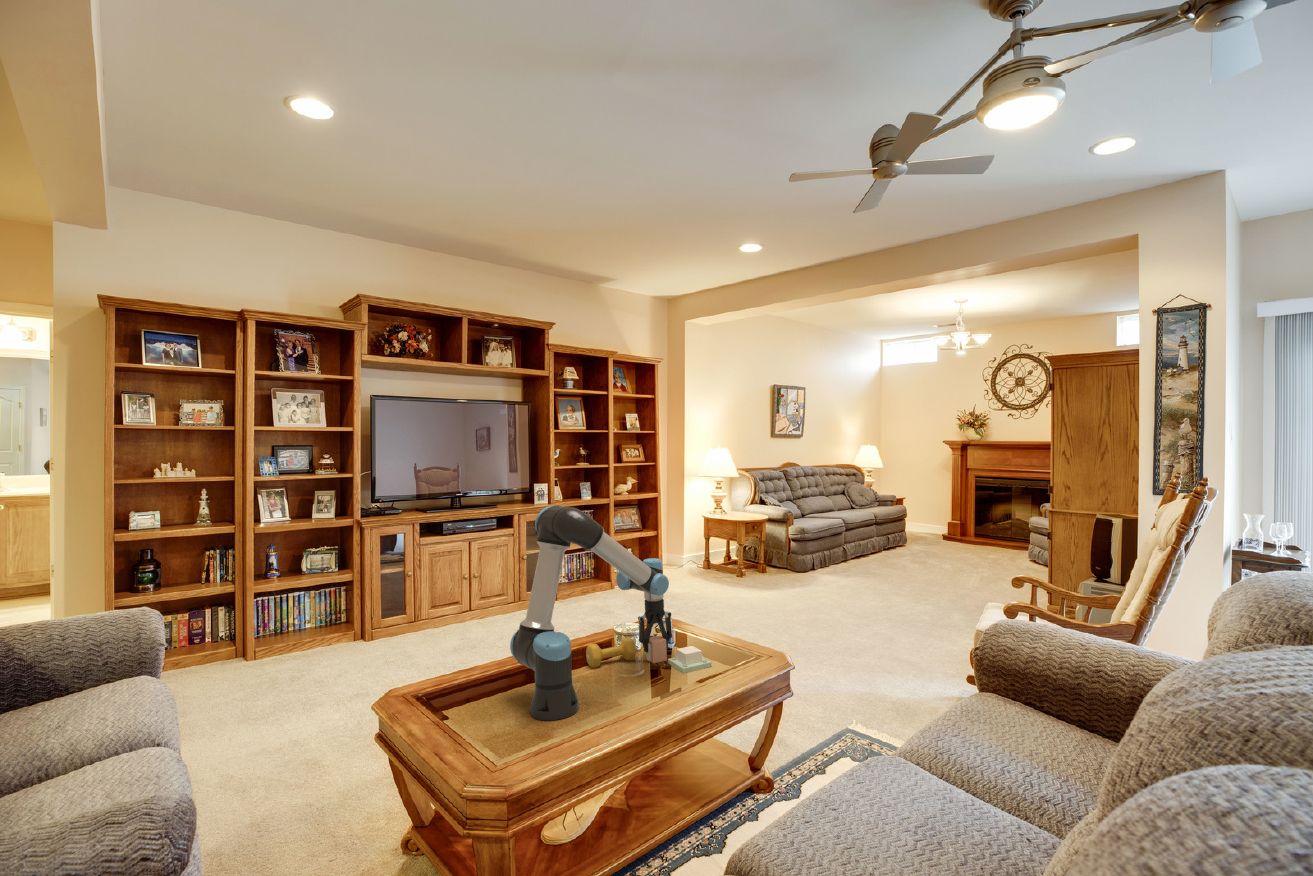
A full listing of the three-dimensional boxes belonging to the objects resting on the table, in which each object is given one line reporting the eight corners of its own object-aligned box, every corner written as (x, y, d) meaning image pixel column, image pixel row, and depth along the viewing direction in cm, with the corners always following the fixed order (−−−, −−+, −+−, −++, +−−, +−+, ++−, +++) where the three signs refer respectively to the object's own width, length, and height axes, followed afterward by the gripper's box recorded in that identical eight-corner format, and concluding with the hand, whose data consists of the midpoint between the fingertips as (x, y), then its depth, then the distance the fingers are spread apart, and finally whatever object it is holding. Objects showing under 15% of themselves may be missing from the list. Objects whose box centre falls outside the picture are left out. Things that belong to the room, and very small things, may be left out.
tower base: (683, 673, 220) (682, 657, 220) (668, 663, 230) (667, 648, 231) (711, 666, 225) (710, 651, 225) (695, 657, 236) (694, 642, 236)
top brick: (653, 663, 231) (652, 642, 231) (646, 659, 236) (645, 638, 236) (666, 660, 234) (666, 639, 234) (660, 656, 239) (659, 635, 239)
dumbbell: (630, 655, 242) (629, 634, 242) (638, 662, 234) (637, 640, 234) (584, 663, 234) (583, 642, 235) (591, 671, 226) (590, 649, 226)
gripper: (635, 604, 228) (638, 666, 227) (680, 597, 236) (682, 656, 236) (627, 600, 235) (630, 660, 234) (671, 593, 243) (673, 651, 243)
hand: (656, 658), depth 235 cm, fingers closed on top brick, 6 cm apart
